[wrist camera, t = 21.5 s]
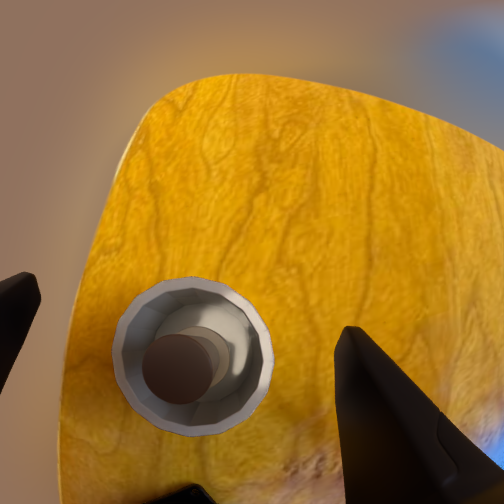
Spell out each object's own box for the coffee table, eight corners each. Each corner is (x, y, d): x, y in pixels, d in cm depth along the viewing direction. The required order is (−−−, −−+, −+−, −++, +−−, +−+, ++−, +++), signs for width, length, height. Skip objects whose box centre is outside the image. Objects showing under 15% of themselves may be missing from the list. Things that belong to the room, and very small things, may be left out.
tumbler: (186, 425, 16) (168, 460, 11) (128, 331, 18) (86, 326, 12) (281, 369, 18) (304, 382, 12) (220, 276, 19) (216, 248, 13)
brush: (238, 371, 17) (245, 402, 8) (186, 388, 17) (147, 430, 8) (219, 321, 18) (208, 303, 9) (168, 337, 17) (112, 334, 9)
